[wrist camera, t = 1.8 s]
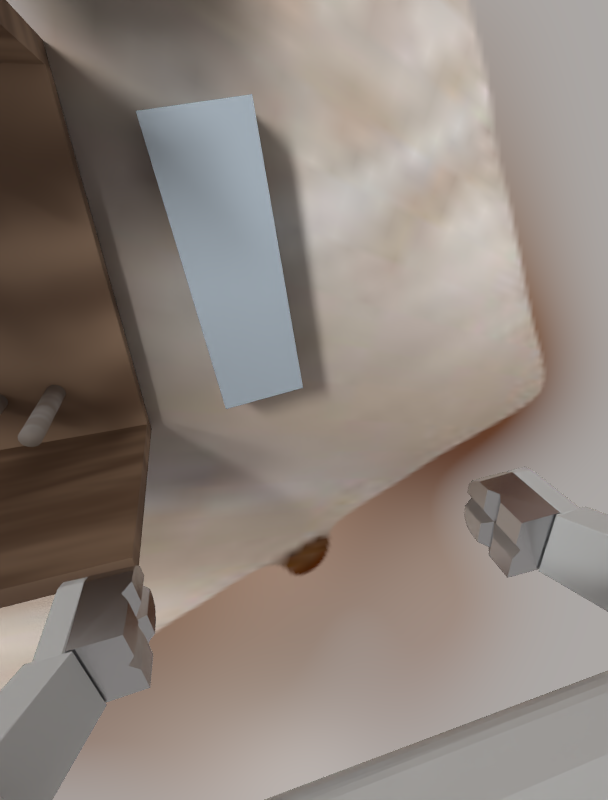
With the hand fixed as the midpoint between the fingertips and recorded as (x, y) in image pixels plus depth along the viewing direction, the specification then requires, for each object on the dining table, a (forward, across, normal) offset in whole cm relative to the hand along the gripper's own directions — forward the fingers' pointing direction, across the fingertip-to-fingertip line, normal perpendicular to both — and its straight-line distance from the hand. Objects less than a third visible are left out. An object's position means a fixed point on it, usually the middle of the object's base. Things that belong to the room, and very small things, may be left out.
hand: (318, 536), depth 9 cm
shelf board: (+23, 0, -3) cm, 23 cm away
